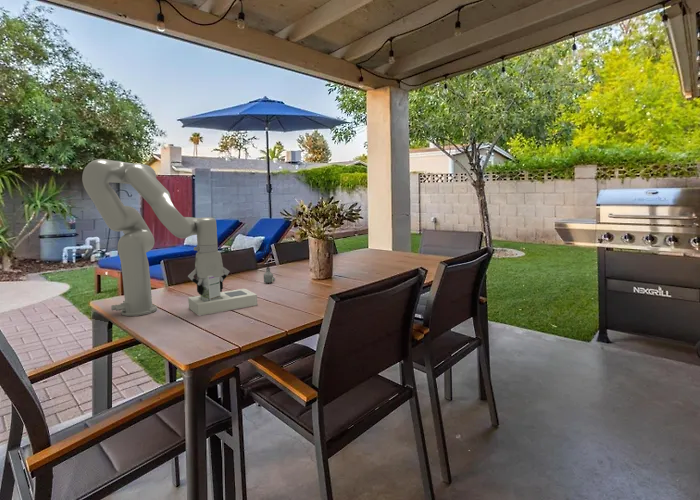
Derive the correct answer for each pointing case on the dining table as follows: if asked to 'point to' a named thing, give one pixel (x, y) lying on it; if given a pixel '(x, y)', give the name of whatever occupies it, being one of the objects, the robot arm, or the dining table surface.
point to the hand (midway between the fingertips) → (210, 292)
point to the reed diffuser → (267, 269)
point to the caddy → (223, 302)
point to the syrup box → (210, 288)
